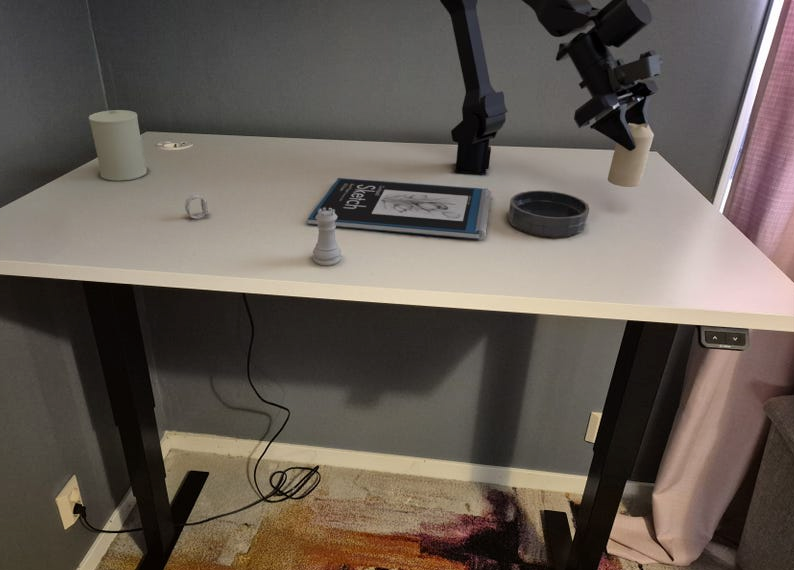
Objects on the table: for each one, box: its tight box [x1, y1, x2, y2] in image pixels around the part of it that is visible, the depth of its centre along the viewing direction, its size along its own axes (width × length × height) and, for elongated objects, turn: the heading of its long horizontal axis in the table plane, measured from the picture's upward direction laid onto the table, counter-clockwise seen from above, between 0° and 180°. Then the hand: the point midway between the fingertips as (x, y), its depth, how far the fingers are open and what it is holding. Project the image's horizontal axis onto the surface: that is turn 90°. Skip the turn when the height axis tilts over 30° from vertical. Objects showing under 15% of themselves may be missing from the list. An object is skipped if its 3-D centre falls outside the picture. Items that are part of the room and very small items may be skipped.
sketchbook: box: [307, 177, 492, 241], centre depth 115 cm, size 22×30×2 cm
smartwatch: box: [184, 194, 209, 220], centre depth 111 cm, size 4×2×4 cm, turn 118°
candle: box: [607, 123, 655, 188], centre depth 109 cm, size 6×6×10 cm
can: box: [88, 109, 148, 182], centre depth 128 cm, size 9×9×12 cm
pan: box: [507, 190, 590, 238], centre depth 110 cm, size 13×13×4 cm
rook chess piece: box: [312, 208, 342, 267], centre depth 96 cm, size 4×4×8 cm
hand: (641, 146), depth 108 cm, fingers closed on candle, 5 cm apart
